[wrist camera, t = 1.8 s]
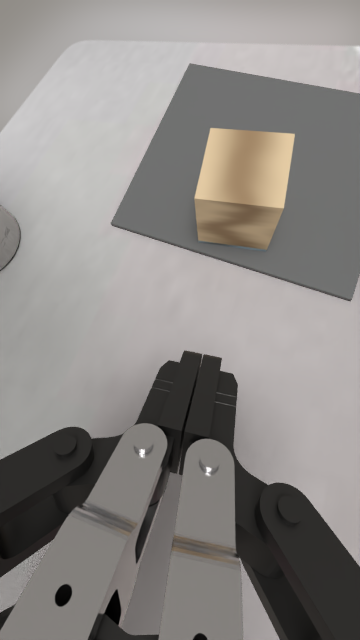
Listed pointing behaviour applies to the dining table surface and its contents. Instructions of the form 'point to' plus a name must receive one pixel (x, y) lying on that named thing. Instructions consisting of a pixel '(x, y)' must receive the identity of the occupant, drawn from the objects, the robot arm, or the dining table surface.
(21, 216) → the dining table surface
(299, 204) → the mat
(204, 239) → the cube
